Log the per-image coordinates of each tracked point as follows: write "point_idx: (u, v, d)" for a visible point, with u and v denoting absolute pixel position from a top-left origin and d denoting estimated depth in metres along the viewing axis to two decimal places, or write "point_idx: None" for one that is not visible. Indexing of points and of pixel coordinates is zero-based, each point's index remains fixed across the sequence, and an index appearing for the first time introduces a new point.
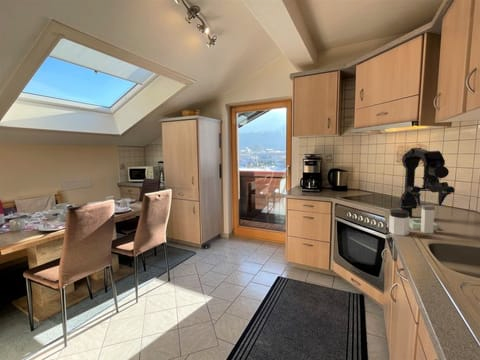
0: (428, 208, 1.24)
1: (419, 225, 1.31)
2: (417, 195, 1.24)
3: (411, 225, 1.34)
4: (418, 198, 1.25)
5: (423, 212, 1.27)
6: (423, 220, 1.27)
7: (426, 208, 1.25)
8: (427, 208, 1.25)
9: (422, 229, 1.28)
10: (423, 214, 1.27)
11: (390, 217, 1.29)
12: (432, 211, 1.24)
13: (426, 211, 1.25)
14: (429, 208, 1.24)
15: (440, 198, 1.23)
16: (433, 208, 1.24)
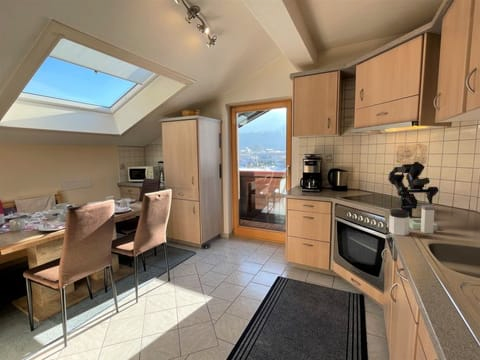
0: (428, 208, 1.24)
1: (419, 225, 1.31)
2: (407, 193, 1.37)
3: (411, 225, 1.34)
4: (409, 196, 1.36)
5: (423, 212, 1.27)
6: (423, 220, 1.27)
7: (426, 208, 1.25)
8: (427, 208, 1.25)
9: (422, 229, 1.28)
10: (423, 214, 1.27)
11: (390, 217, 1.29)
12: (432, 211, 1.24)
13: (426, 211, 1.25)
14: (429, 208, 1.24)
15: (429, 198, 1.34)
16: (433, 208, 1.24)
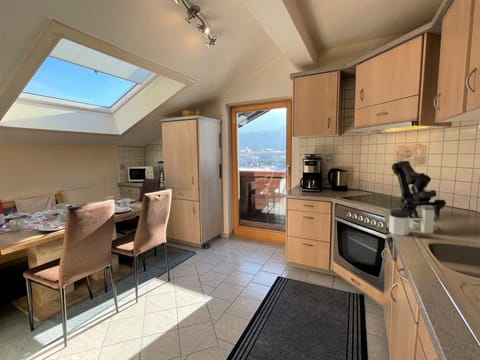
0: (428, 208, 1.24)
1: (419, 225, 1.31)
2: (412, 206, 1.30)
3: (411, 225, 1.34)
4: (414, 209, 1.29)
5: (423, 212, 1.27)
6: (423, 220, 1.27)
7: (426, 208, 1.25)
8: (427, 208, 1.25)
9: (422, 229, 1.28)
10: (423, 214, 1.27)
11: (390, 217, 1.29)
12: (432, 211, 1.24)
13: (426, 211, 1.25)
14: (429, 208, 1.24)
15: (436, 211, 1.27)
16: (433, 208, 1.24)
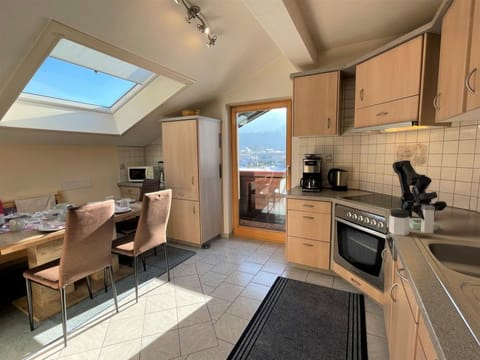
0: (428, 208, 1.24)
1: (419, 225, 1.31)
2: (418, 208, 1.29)
3: (411, 225, 1.34)
4: (420, 211, 1.28)
5: (423, 212, 1.27)
6: (423, 220, 1.27)
7: (426, 208, 1.25)
8: (427, 208, 1.25)
9: (422, 229, 1.28)
10: (423, 214, 1.27)
11: (390, 217, 1.29)
12: (432, 211, 1.24)
13: (426, 211, 1.25)
14: (429, 208, 1.24)
15: None
16: (433, 208, 1.24)
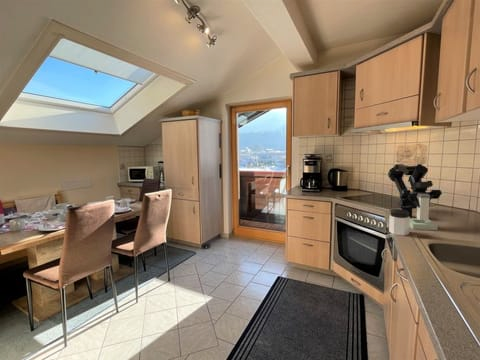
0: (424, 196, 1.30)
1: (419, 225, 1.31)
2: (414, 196, 1.34)
3: (411, 225, 1.34)
4: (416, 199, 1.33)
5: (419, 200, 1.32)
6: (419, 208, 1.32)
7: (422, 196, 1.30)
8: (423, 196, 1.30)
9: (418, 216, 1.34)
10: (419, 202, 1.32)
11: (390, 217, 1.29)
12: (427, 199, 1.29)
13: (422, 199, 1.30)
14: (425, 196, 1.29)
15: None
16: (428, 196, 1.29)
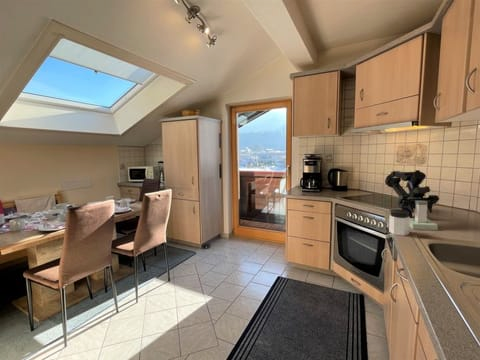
0: (421, 203, 1.33)
1: (419, 225, 1.31)
2: (408, 201, 1.37)
3: (411, 225, 1.34)
4: (410, 204, 1.37)
5: (417, 207, 1.35)
6: (417, 214, 1.36)
7: (419, 203, 1.33)
8: (420, 203, 1.33)
9: None
10: (417, 209, 1.35)
11: (390, 217, 1.29)
12: (425, 206, 1.33)
13: (419, 206, 1.33)
14: (422, 203, 1.33)
15: (429, 206, 1.35)
16: (426, 203, 1.32)
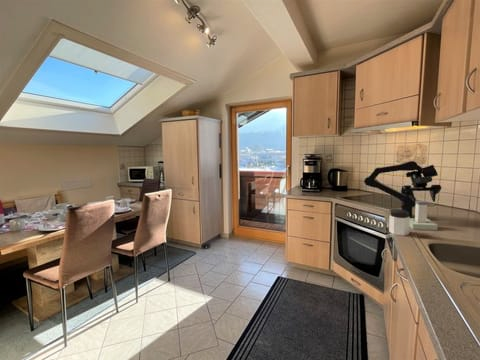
0: (421, 203, 1.33)
1: (419, 225, 1.31)
2: (410, 191, 1.41)
3: (411, 225, 1.34)
4: (412, 194, 1.40)
5: (417, 207, 1.35)
6: (417, 214, 1.36)
7: (419, 203, 1.33)
8: (420, 203, 1.33)
9: None
10: (417, 209, 1.35)
11: (390, 217, 1.29)
12: (425, 206, 1.33)
13: (419, 206, 1.33)
14: (422, 203, 1.33)
15: (432, 195, 1.38)
16: (426, 203, 1.32)
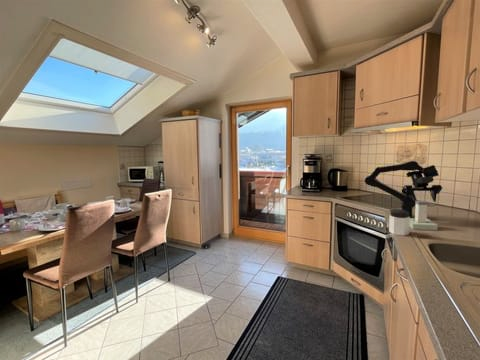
0: (421, 203, 1.33)
1: (419, 225, 1.31)
2: (411, 191, 1.41)
3: (411, 225, 1.34)
4: (413, 194, 1.40)
5: (417, 207, 1.35)
6: (417, 214, 1.36)
7: (419, 203, 1.33)
8: (420, 203, 1.33)
9: None
10: (417, 209, 1.35)
11: (390, 217, 1.29)
12: (425, 206, 1.33)
13: (419, 206, 1.33)
14: (422, 203, 1.33)
15: (433, 195, 1.38)
16: (426, 203, 1.32)
